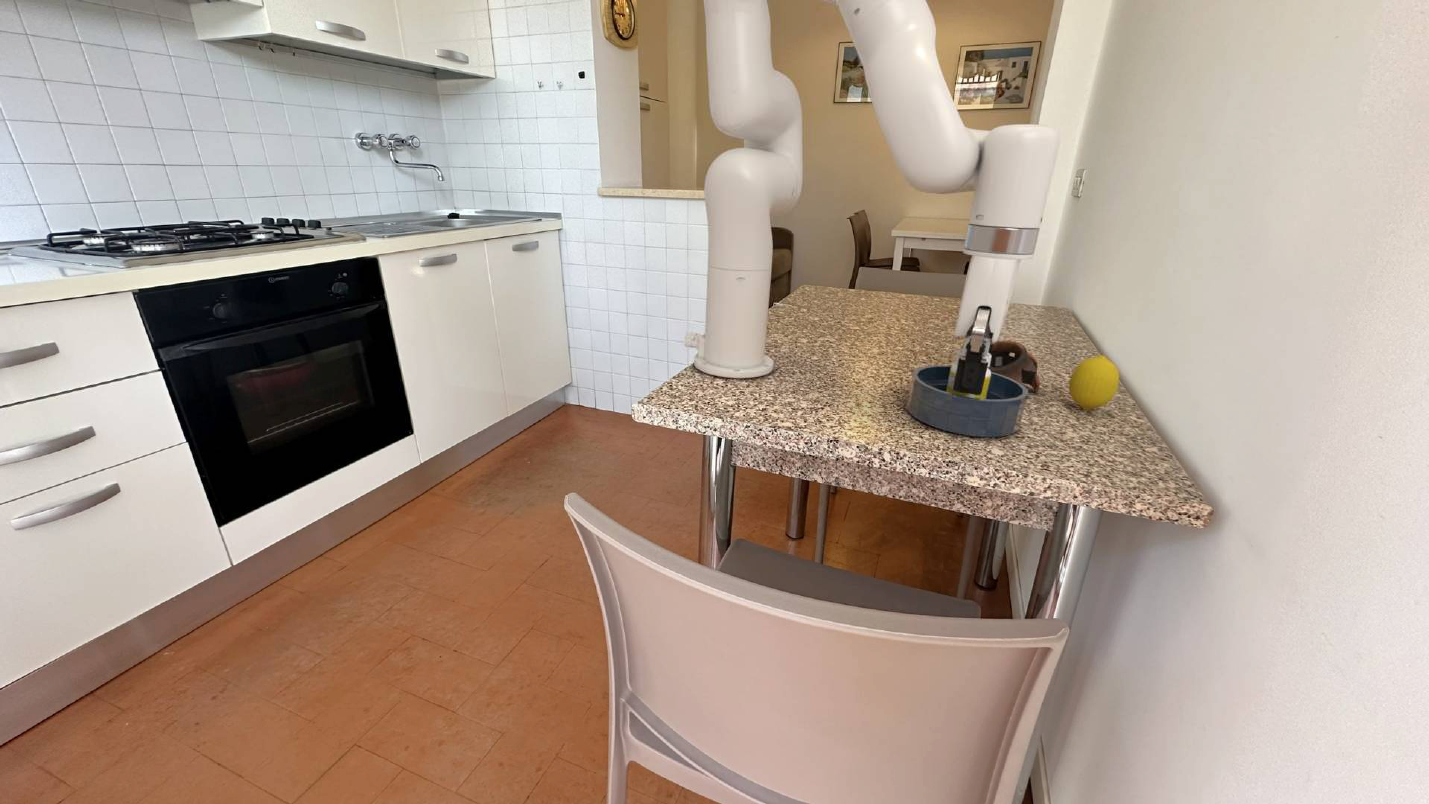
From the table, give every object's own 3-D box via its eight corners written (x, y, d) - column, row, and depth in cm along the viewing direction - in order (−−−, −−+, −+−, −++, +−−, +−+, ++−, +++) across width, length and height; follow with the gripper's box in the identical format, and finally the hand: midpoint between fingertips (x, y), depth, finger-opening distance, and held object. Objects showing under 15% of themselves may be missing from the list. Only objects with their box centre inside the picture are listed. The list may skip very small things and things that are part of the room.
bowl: (897, 423, 72) (904, 386, 70) (915, 392, 83) (921, 359, 81) (1017, 449, 66) (1027, 409, 64) (1019, 412, 78) (1028, 377, 76)
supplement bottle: (976, 410, 76) (990, 349, 73) (985, 423, 72) (1000, 360, 69) (938, 406, 77) (951, 346, 74) (945, 419, 73) (958, 356, 70)
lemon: (1082, 402, 83) (1098, 348, 80) (1118, 416, 78) (1136, 360, 75) (1053, 404, 81) (1068, 350, 78) (1087, 420, 76) (1105, 362, 73)
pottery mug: (1053, 404, 82) (1045, 359, 78) (984, 423, 85) (973, 381, 81) (1023, 360, 92) (1015, 318, 88) (963, 379, 95) (952, 339, 91)
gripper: (971, 235, 75) (947, 360, 81) (957, 245, 61) (929, 395, 67) (1035, 240, 72) (1005, 369, 78) (1036, 251, 58) (999, 408, 64)
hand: (970, 381), depth 73 cm, fingers open, 9 cm apart
